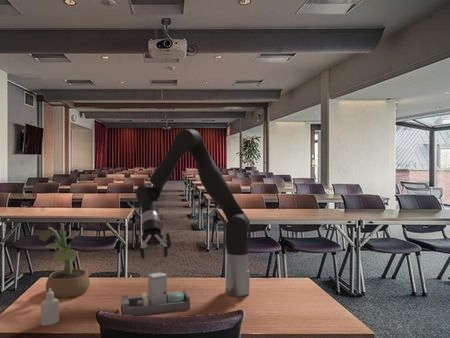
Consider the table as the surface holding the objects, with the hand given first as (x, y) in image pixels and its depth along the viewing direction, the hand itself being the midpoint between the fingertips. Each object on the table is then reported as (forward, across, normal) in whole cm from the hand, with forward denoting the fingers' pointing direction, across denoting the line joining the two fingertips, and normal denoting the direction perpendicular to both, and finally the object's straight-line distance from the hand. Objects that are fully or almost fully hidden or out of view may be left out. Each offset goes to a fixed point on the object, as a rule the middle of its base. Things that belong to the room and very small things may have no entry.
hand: (154, 257), depth 152 cm
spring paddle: (+18, -6, +4) cm, 19 cm away
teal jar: (+18, +7, +4) cm, 20 cm away
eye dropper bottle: (+20, -37, +4) cm, 42 cm away
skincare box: (+18, 0, +5) cm, 19 cm away
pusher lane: (+19, -1, +5) cm, 20 cm away
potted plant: (+1, -34, +23) cm, 41 cm away
